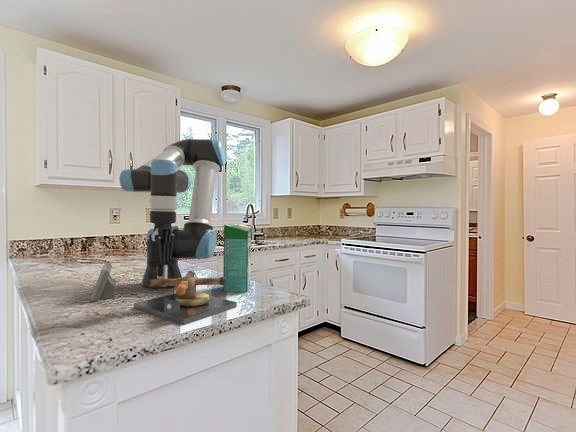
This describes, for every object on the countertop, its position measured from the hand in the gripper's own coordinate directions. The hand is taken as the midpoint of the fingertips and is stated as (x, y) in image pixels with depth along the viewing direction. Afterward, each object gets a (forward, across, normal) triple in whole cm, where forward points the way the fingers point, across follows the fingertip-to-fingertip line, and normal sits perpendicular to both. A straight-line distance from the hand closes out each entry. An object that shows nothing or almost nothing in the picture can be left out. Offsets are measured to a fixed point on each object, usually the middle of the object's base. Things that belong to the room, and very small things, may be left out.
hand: (162, 285), depth 101 cm
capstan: (+5, 0, +8) cm, 9 cm away
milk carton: (+7, -25, +18) cm, 32 cm away
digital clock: (+8, -9, -26) cm, 28 cm away
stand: (+6, 0, +8) cm, 10 cm away
